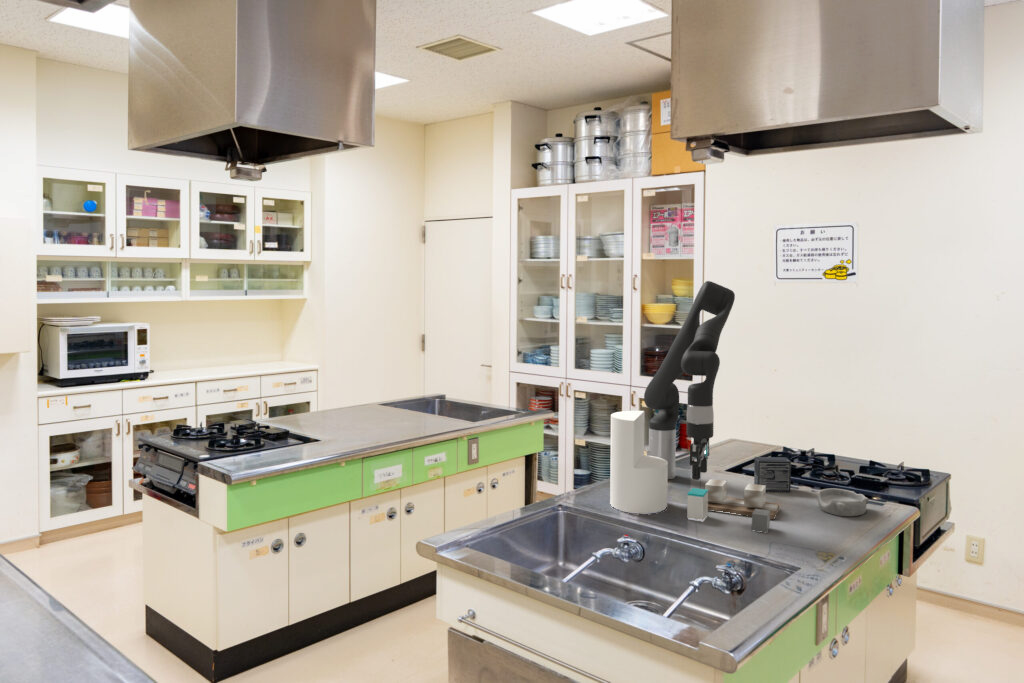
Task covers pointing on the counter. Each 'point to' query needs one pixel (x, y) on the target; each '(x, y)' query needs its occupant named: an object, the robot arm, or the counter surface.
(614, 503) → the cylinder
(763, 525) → the grey block
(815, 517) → the counter surface
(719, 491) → the board
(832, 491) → the dish
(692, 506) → the block
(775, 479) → the small box
